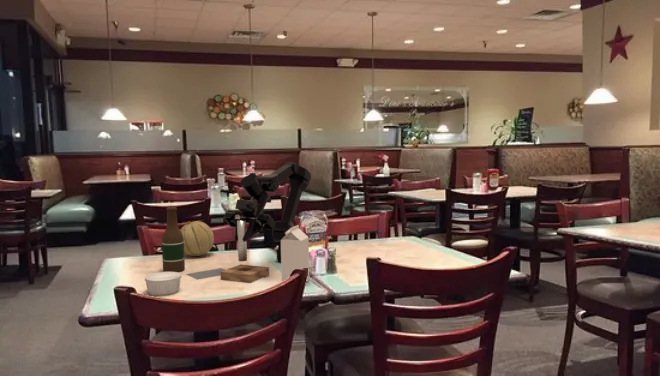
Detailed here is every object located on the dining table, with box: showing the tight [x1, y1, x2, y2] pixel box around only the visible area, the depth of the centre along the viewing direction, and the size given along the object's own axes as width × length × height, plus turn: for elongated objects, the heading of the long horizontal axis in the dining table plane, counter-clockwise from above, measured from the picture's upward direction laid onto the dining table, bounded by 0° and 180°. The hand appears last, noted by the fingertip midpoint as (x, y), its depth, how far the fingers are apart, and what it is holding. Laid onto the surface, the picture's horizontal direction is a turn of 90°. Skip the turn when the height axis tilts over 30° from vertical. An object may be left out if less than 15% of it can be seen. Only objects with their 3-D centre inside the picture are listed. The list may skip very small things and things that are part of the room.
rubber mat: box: [185, 267, 226, 280], centre depth 193 cm, size 14×10×1 cm
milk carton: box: [280, 224, 310, 283], centre depth 179 cm, size 7×7×19 cm
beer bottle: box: [161, 206, 186, 273], centre depth 198 cm, size 8×8×24 cm
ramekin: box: [144, 271, 182, 296], centre depth 172 cm, size 11×11×5 cm
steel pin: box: [237, 220, 248, 262], centre depth 186 cm, size 3×3×14 cm
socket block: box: [220, 264, 270, 284], centre depth 187 cm, size 12×12×3 cm
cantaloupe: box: [179, 220, 215, 257], centre depth 225 cm, size 15×15×15 cm
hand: (239, 240), depth 185 cm, fingers closed on steel pin, 3 cm apart
